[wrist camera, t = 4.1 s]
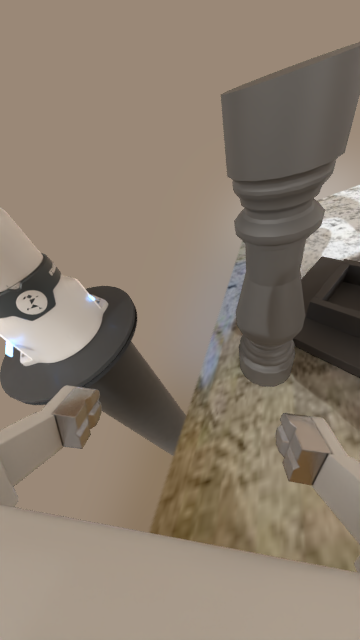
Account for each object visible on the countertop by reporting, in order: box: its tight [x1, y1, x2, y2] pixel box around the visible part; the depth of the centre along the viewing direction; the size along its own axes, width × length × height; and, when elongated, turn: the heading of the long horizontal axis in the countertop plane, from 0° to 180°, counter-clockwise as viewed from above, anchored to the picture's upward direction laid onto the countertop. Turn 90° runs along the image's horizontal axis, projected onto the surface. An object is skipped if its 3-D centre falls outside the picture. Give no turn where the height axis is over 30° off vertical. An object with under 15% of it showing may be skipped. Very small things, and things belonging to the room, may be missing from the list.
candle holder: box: [221, 42, 360, 386], centre depth 18 cm, size 6×6×25 cm
